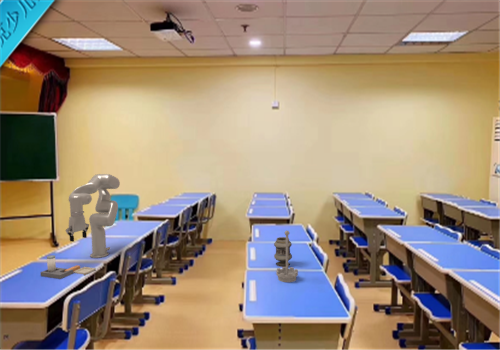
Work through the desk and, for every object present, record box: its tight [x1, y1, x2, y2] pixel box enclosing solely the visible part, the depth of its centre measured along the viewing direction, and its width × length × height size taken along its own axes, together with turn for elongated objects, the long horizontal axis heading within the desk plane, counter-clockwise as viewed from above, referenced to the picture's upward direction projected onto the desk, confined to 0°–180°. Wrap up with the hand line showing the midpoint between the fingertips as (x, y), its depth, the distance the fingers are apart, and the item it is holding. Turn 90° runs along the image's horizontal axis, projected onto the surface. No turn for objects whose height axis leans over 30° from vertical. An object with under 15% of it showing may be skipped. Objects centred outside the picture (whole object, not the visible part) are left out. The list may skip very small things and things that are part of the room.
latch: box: [65, 264, 81, 273], centre depth 241 cm, size 10×3×2 cm, turn 160°
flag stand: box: [275, 230, 299, 283], centre depth 225 cm, size 13×13×30 cm
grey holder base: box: [40, 267, 74, 280], centre depth 235 cm, size 10×16×3 cm, turn 70°
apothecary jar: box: [273, 236, 293, 268], centre depth 252 cm, size 12×12×18 cm
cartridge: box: [46, 254, 57, 272], centre depth 236 cm, size 5×5×12 cm
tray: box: [73, 266, 96, 276], centre depth 241 cm, size 9×9×2 cm
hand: (78, 239), depth 247 cm, fingers open, 9 cm apart
